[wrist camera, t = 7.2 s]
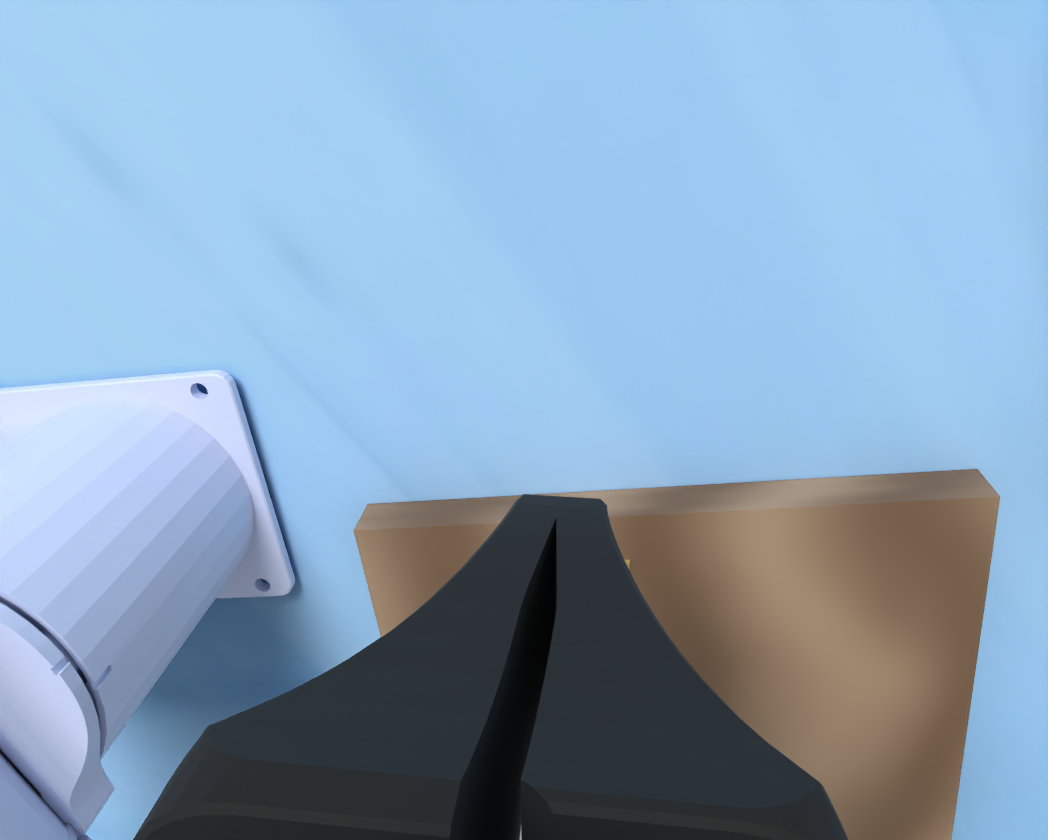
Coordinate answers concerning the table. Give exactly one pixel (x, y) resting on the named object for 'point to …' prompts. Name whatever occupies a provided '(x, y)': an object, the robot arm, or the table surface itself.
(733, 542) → the stand board
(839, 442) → the table surface
